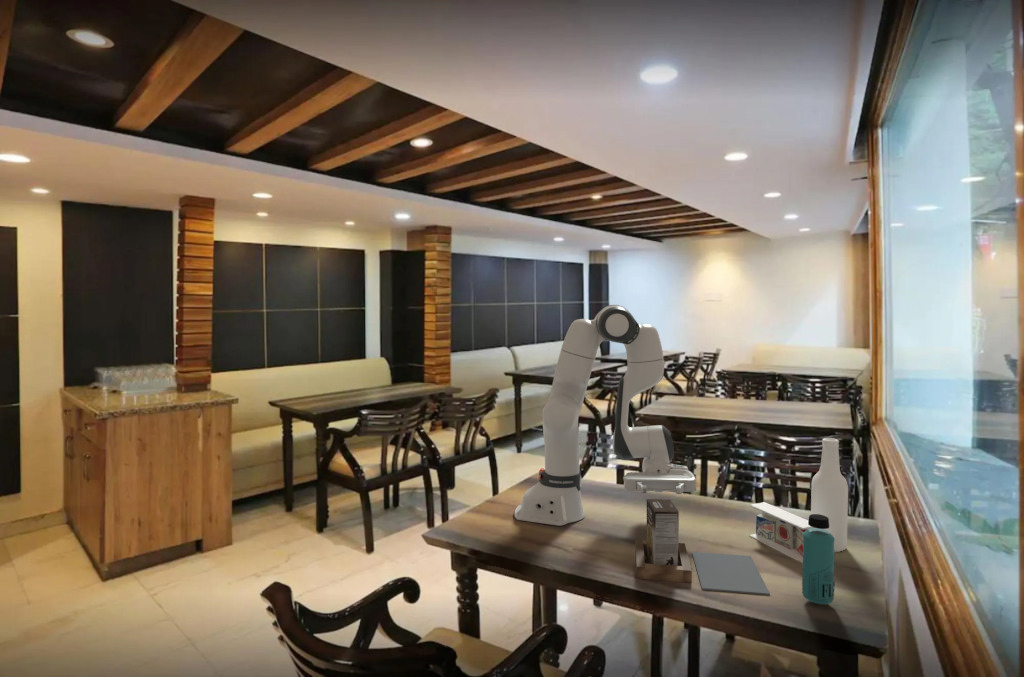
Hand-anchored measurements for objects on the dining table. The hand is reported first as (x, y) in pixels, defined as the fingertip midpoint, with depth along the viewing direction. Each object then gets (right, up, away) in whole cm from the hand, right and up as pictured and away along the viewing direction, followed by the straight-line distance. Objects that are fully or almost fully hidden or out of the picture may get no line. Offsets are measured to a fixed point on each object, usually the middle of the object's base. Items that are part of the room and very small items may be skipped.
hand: (661, 490), depth 157 cm
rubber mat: (+13, -16, -15) cm, 26 cm away
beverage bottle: (+27, -17, -30) cm, 44 cm away
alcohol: (+46, -15, 0) cm, 49 cm away
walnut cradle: (-3, -16, -11) cm, 20 cm away
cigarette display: (+34, -16, -1) cm, 37 cm away
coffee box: (-3, -17, -11) cm, 20 cm away
